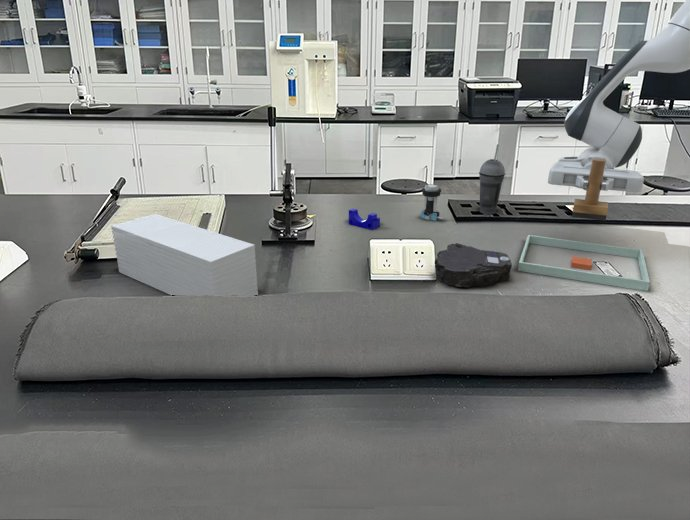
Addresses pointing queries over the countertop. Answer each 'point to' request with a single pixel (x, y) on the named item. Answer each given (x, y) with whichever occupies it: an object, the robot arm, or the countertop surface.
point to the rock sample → (471, 266)
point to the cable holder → (369, 223)
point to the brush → (592, 195)
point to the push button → (430, 202)
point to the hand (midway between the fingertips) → (594, 186)
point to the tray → (584, 275)
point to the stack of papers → (184, 258)
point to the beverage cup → (490, 184)
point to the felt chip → (581, 263)
